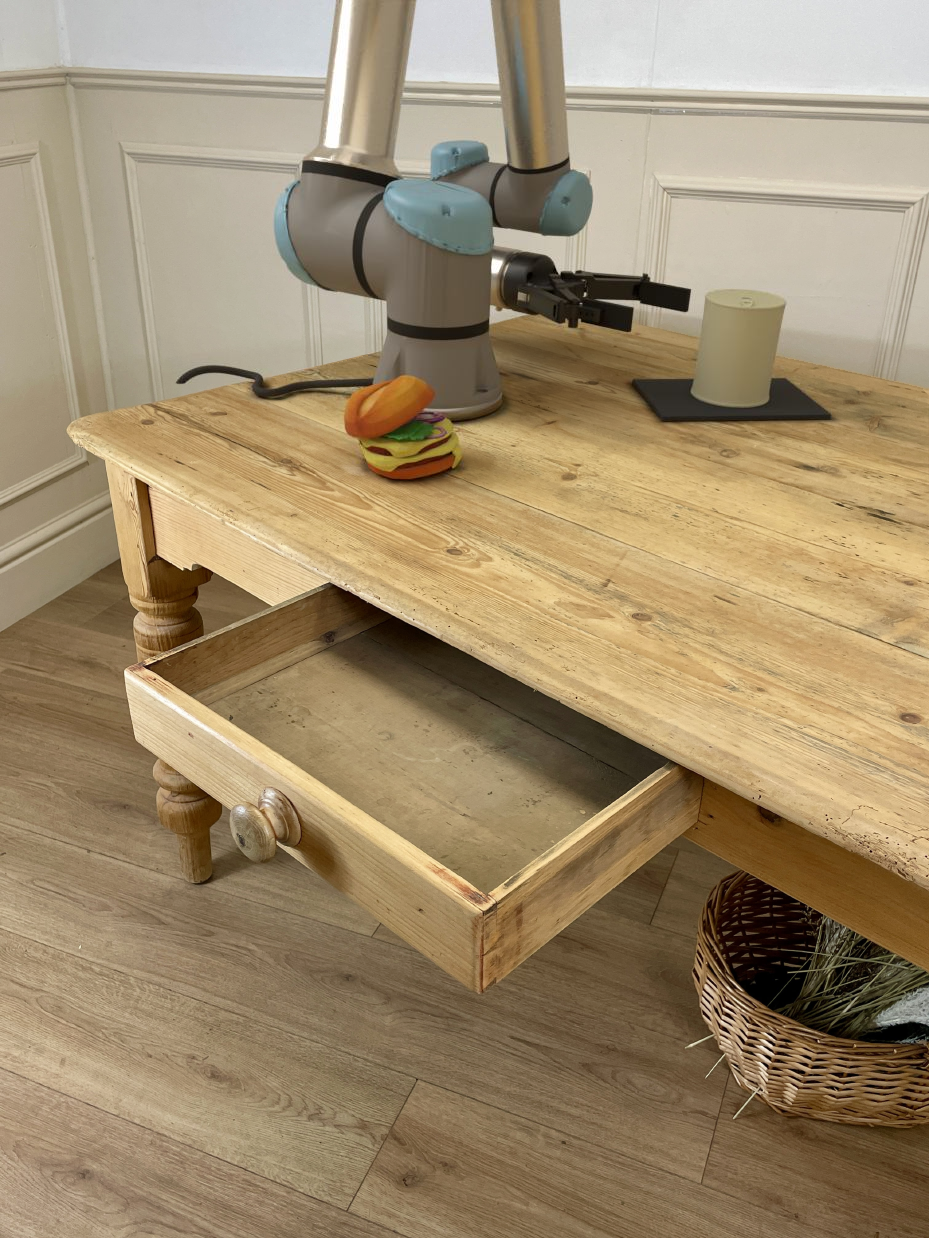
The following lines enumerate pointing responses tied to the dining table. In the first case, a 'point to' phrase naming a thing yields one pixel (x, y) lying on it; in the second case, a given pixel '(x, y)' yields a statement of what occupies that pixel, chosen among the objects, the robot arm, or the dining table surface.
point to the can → (737, 347)
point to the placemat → (680, 405)
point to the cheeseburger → (401, 429)
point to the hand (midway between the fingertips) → (661, 310)
